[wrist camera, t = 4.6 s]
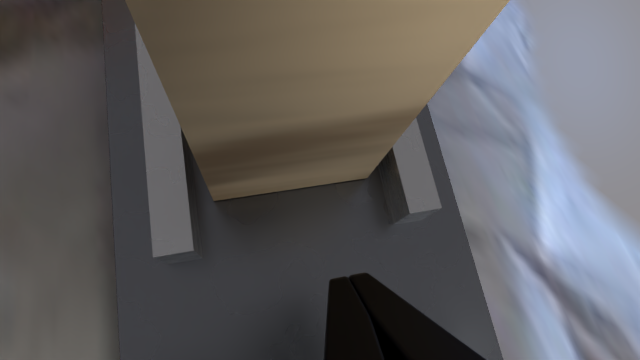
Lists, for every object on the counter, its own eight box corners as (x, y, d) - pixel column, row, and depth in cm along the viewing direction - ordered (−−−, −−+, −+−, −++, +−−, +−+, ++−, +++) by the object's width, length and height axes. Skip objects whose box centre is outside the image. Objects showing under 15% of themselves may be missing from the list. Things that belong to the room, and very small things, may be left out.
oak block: (367, 177, 16) (619, -137, 5) (213, 201, 15) (62, -140, 4) (336, 49, 18) (469, -411, 6) (196, 61, 17) (56, -470, 5)
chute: (485, 367, 16) (543, 382, 13) (140, 456, 14) (101, 503, 10) (362, -63, 22) (380, -128, 19) (109, -55, 20) (78, -128, 16)
